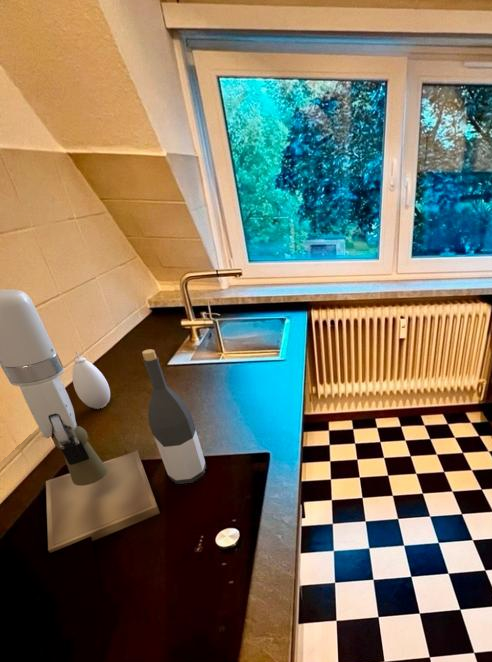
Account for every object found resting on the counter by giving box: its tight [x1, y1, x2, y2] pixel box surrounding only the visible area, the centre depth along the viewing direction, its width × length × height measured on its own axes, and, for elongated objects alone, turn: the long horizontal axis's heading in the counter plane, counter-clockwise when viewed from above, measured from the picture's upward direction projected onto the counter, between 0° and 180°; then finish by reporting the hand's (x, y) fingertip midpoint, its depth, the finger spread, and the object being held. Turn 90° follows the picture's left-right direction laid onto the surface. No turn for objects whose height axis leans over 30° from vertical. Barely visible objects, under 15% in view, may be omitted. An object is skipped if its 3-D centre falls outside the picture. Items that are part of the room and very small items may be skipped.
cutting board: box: [45, 450, 161, 553], centre depth 80 cm, size 18×22×2 cm
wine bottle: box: [141, 349, 207, 485], centre depth 80 cm, size 8×8×30 cm
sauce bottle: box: [72, 349, 111, 410], centre depth 107 cm, size 8×8×18 cm
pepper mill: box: [53, 425, 107, 486], centre depth 74 cm, size 6×6×11 cm
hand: (78, 452), depth 74 cm, fingers closed on pepper mill, 5 cm apart
